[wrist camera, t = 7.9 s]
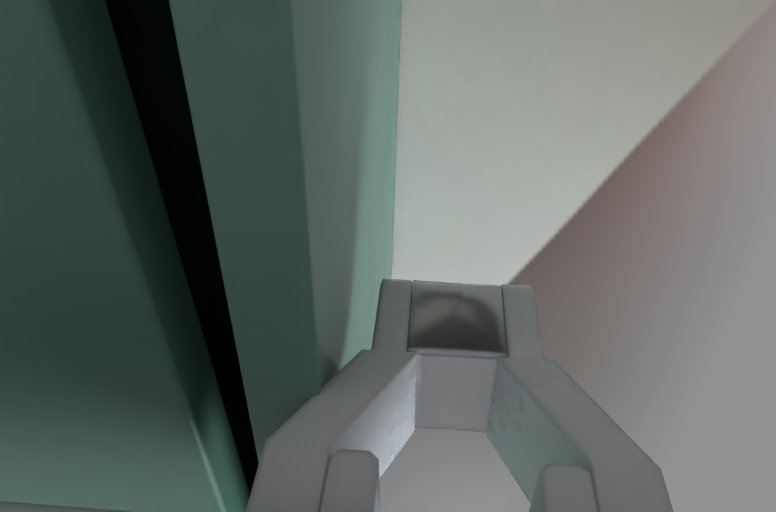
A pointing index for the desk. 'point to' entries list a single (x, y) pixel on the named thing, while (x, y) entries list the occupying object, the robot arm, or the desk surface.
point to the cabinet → (110, 272)
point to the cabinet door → (295, 179)
